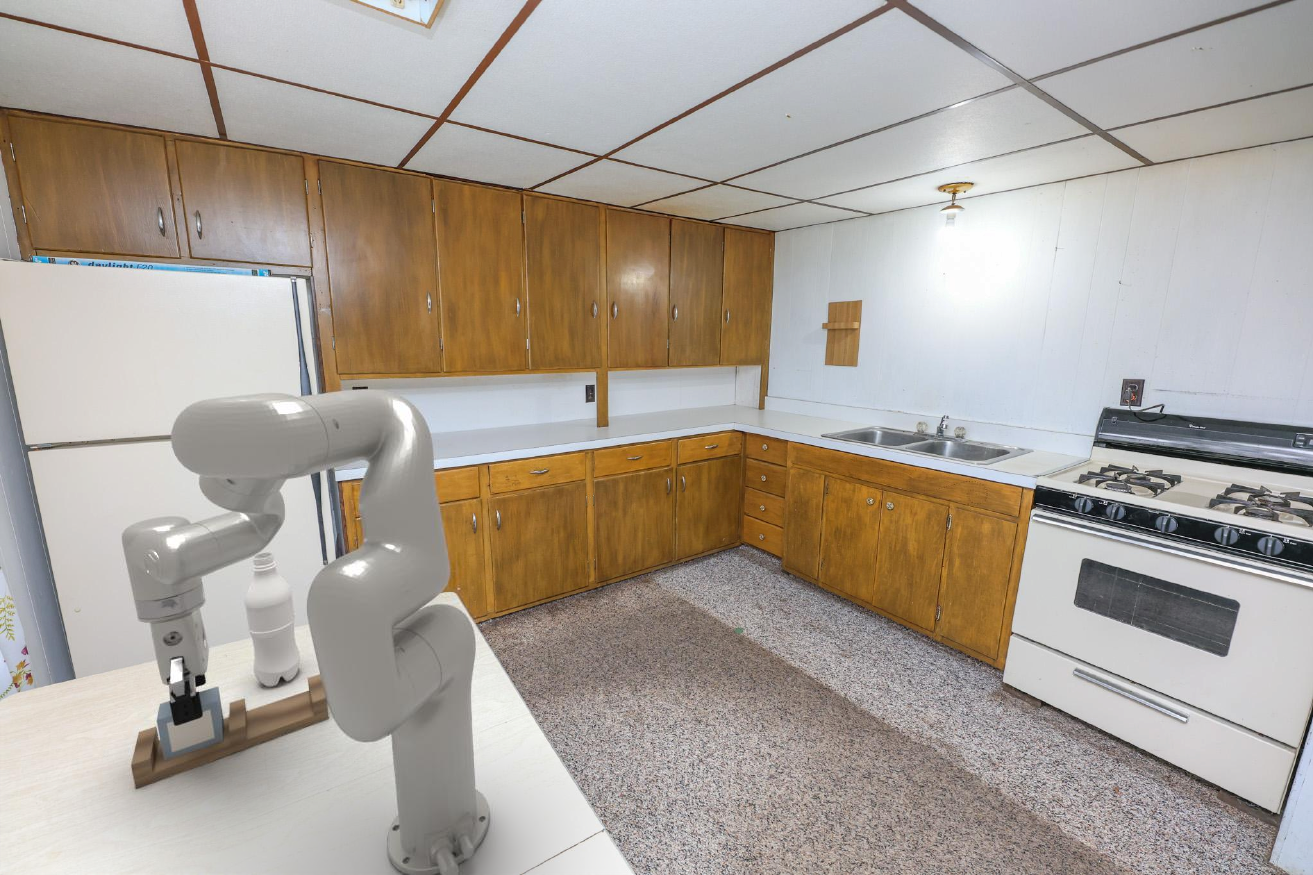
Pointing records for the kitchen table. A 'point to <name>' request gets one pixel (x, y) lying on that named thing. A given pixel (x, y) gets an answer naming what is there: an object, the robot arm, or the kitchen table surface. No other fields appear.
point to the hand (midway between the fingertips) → (191, 703)
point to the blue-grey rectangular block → (191, 727)
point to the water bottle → (271, 623)
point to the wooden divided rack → (232, 733)
